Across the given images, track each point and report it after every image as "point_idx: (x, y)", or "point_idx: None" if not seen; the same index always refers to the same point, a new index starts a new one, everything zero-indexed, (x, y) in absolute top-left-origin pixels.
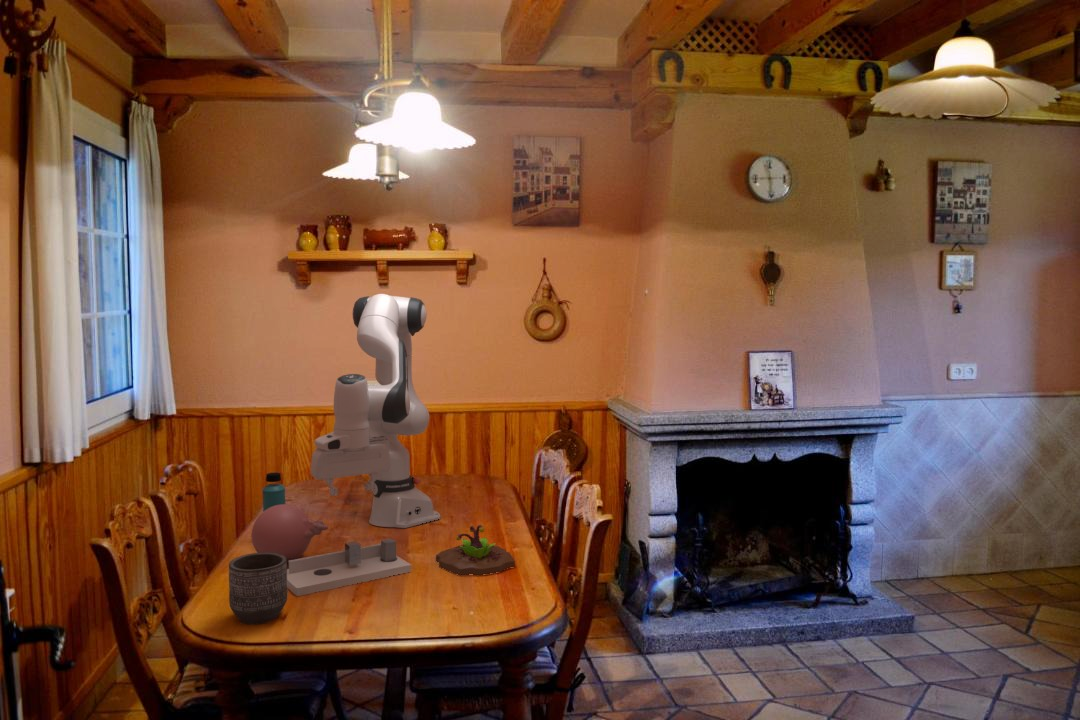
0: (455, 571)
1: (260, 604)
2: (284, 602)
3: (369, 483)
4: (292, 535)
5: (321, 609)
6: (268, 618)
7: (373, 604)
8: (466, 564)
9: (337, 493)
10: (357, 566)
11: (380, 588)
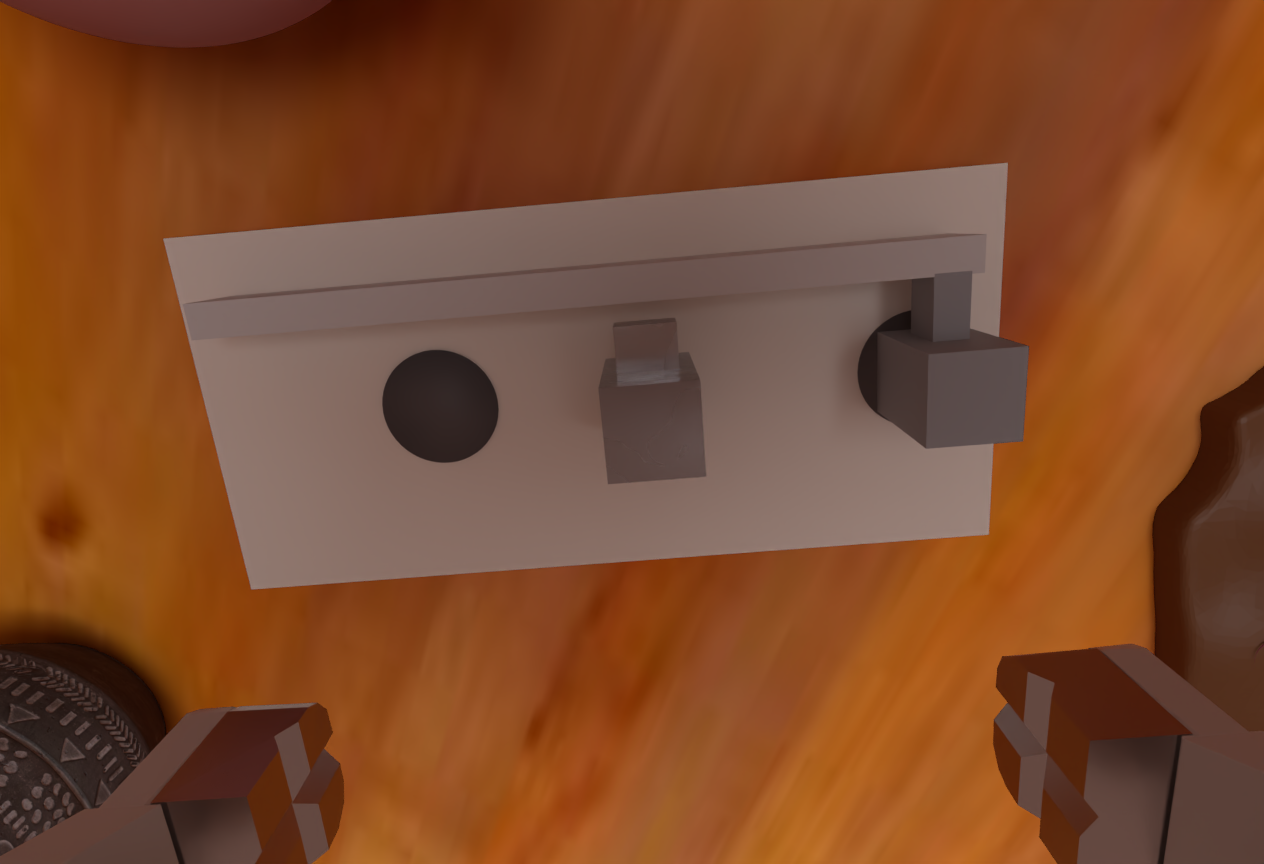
0: None
1: None
2: None
3: (1160, 831)
4: (147, 19)
5: (364, 766)
6: None
7: (602, 818)
8: (1255, 713)
9: (325, 837)
10: None
11: (707, 658)
